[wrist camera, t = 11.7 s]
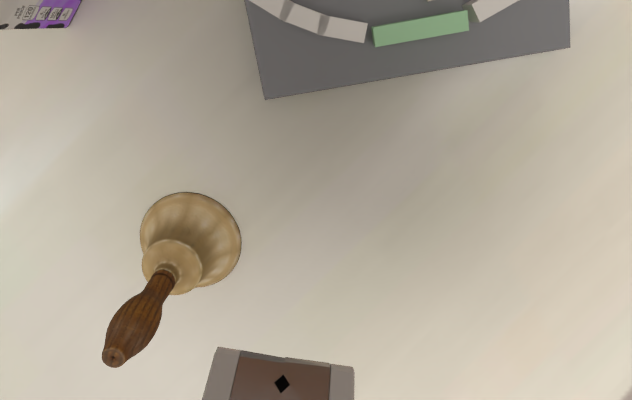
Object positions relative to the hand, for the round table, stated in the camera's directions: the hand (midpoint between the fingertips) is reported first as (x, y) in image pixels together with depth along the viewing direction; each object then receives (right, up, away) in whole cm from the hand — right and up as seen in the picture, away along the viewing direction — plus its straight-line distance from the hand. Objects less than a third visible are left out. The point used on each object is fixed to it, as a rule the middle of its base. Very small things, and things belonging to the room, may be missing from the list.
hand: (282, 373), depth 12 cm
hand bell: (-9, +1, +32) cm, 33 cm away
